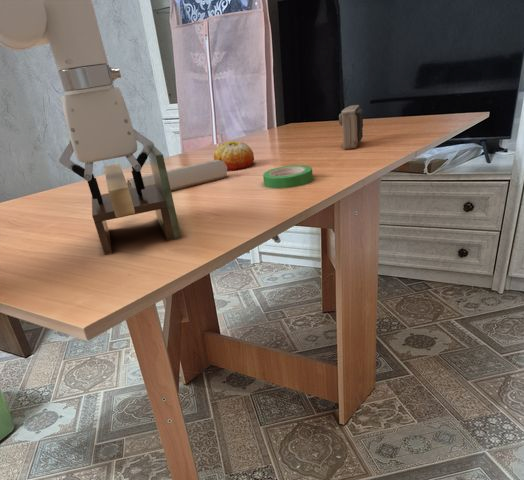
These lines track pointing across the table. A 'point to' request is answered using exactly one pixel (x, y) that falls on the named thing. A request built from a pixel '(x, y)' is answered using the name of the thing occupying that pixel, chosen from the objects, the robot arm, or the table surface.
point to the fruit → (235, 155)
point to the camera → (351, 126)
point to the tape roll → (288, 176)
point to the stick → (118, 191)
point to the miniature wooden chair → (142, 204)
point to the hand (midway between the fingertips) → (120, 197)
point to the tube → (188, 175)
